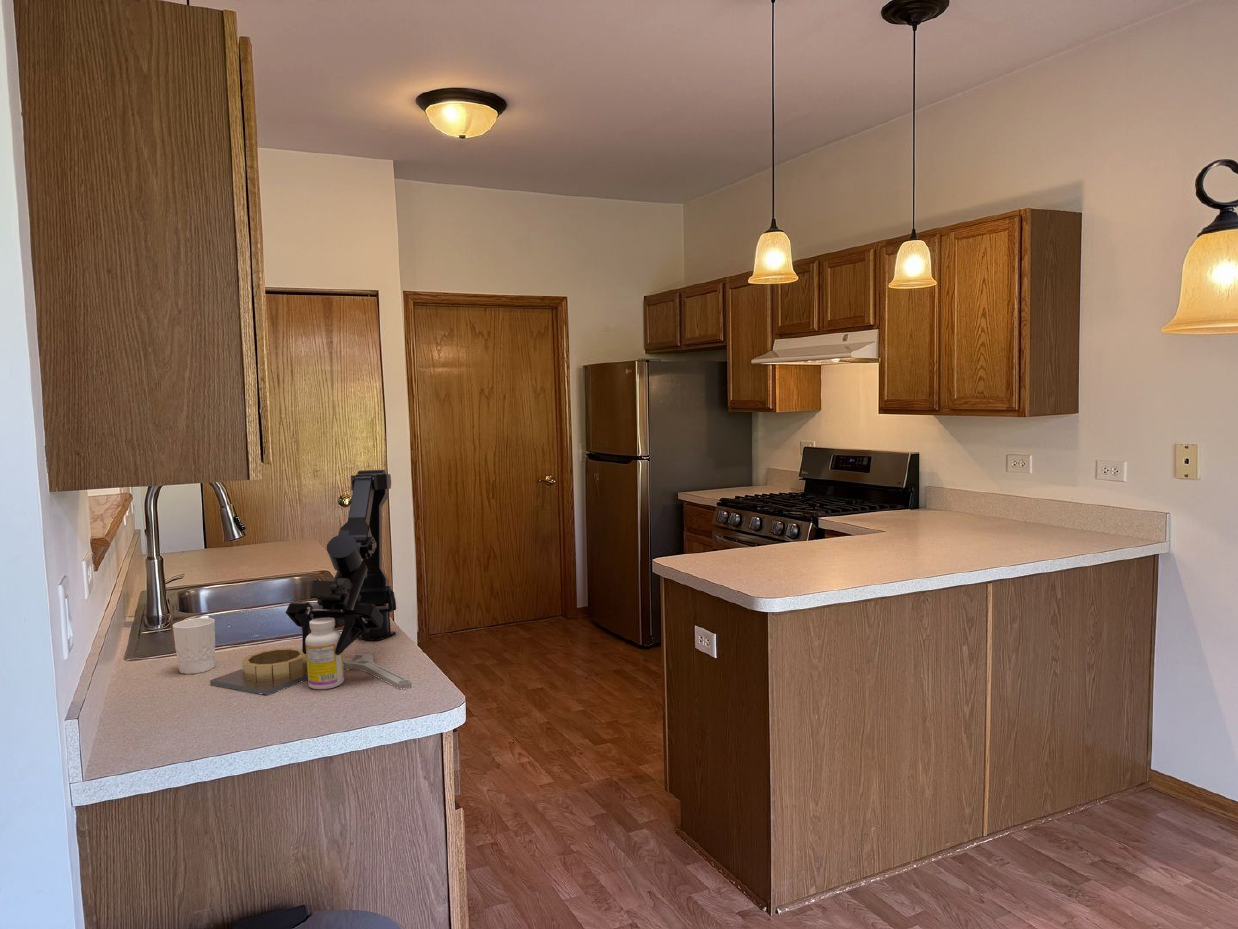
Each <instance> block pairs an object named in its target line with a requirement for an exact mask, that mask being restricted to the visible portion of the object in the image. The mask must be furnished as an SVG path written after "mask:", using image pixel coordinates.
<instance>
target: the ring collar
mask: <svg viewBox="0 0 1238 929" xmlns="http://www.w3.org/2000/svg"><path fill="white" fill-rule="evenodd" d="M240 662H241V669H238V670H235V671H232V672H229V673H226V674H224V675H221V676H218V677H215V678H212V679H210V680H209V685H210V686H212V687H213V686H214V687H220V688H224V687H226V688H225V689H229V688H232V689H231V690H234V689H237V690H236V691H240V690H242V691H241V692H245V691H246V692H247V693H250V692H251V693H252V694H256V693H262V694H266V695H265V696H269V695H268V694H270V693H272V694H275V693H277V692H279V691H278V690H280V691H282V690H281V689H283V688H285V689H287V688H286V687H288V688H290V687H292V685H293V686H294V685H298V684H300V683H302V682H301V681H303V682H305V681H308V680H307V679H308V671H307V657H306V654H304V653H303V652H302V649H301V648H297V647H284V648H283V647H280V648H272V649H266V650H261V651H258V652H255V653H251V654H249V655H247V656H245V657H244V658H243V659H242V660H240ZM299 682H300V683H299ZM297 683H298V684H297ZM283 690H284V689H283ZM276 691H277V692H276ZM274 692H275V693H274ZM251 693H250V694H251ZM270 695H271V694H270Z"/></svg>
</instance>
